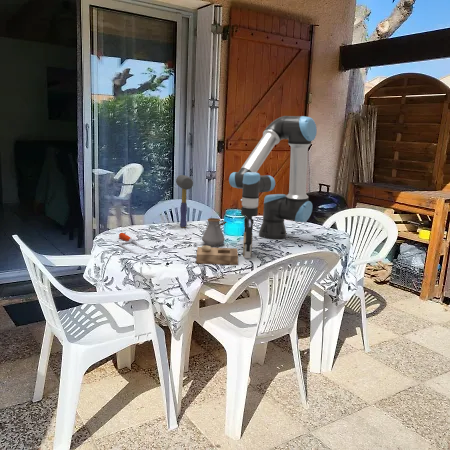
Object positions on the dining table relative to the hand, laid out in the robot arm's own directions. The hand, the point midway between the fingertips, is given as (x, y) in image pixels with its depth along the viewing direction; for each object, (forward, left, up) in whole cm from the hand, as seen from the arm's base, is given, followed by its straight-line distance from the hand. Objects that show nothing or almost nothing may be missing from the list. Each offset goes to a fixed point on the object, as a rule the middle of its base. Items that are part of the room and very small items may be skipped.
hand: (246, 255), depth 214 cm
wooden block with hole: (+14, +8, 0) cm, 16 cm away
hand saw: (+55, -10, -1) cm, 56 cm away
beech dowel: (0, 0, 0) cm, 0 cm away
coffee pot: (+14, -14, 0) cm, 20 cm away
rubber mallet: (+33, -53, 0) cm, 62 cm away
